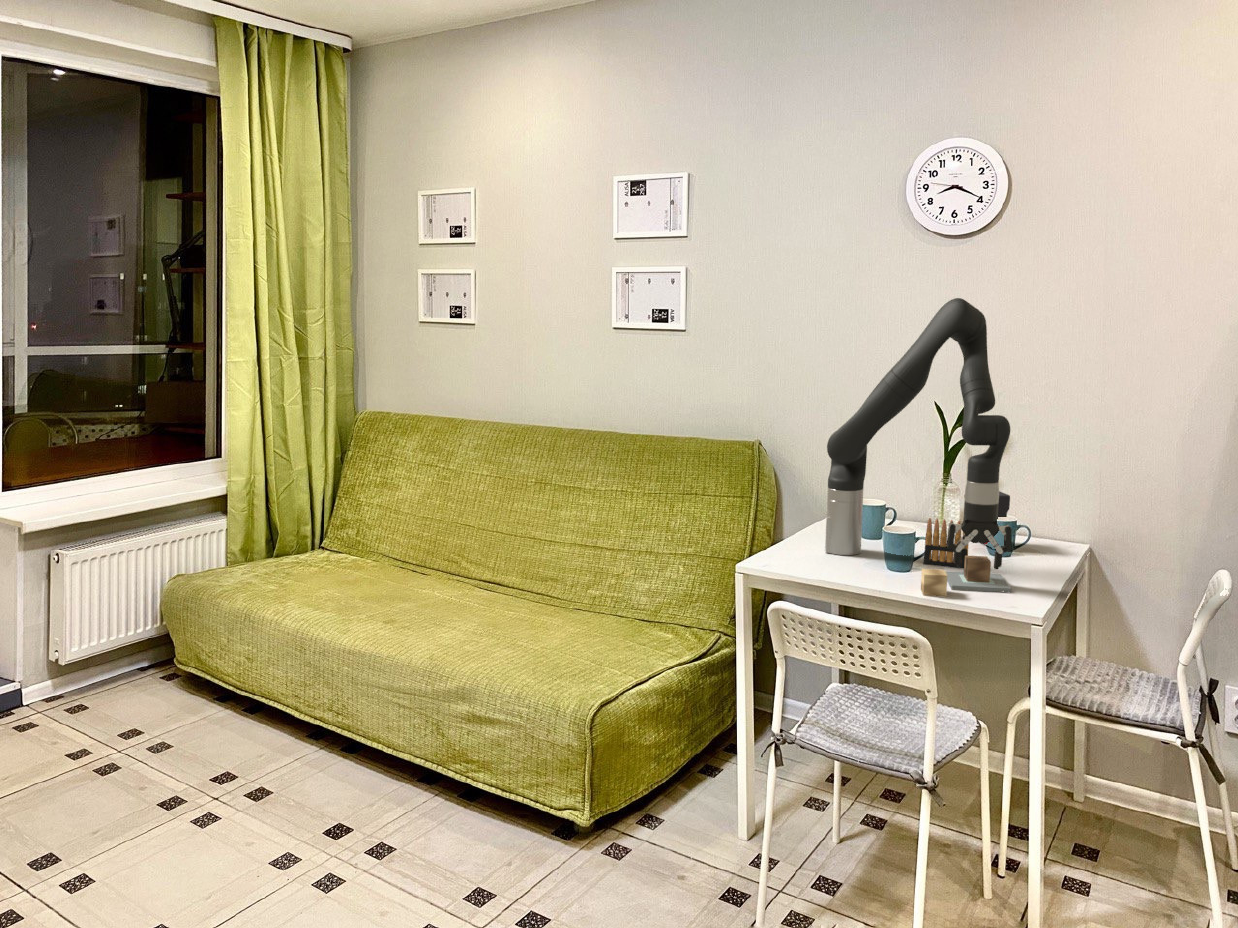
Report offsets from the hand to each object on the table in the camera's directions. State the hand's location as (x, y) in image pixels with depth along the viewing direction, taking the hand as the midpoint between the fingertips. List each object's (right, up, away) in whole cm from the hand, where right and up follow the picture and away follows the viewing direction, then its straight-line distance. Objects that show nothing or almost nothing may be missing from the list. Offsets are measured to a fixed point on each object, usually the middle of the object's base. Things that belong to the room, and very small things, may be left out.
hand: (977, 567), depth 239 cm
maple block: (-13, -5, -7) cm, 15 cm away
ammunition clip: (-2, -2, +17) cm, 17 cm away
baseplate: (0, -4, +1) cm, 4 cm away
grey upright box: (+17, +2, +39) cm, 42 cm away
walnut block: (0, -3, 0) cm, 3 cm away
